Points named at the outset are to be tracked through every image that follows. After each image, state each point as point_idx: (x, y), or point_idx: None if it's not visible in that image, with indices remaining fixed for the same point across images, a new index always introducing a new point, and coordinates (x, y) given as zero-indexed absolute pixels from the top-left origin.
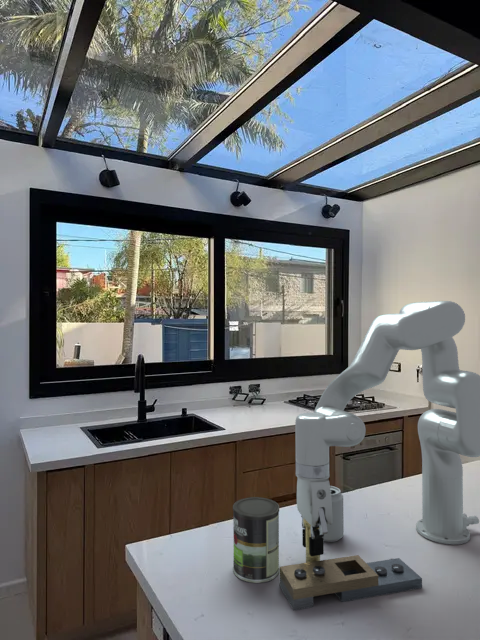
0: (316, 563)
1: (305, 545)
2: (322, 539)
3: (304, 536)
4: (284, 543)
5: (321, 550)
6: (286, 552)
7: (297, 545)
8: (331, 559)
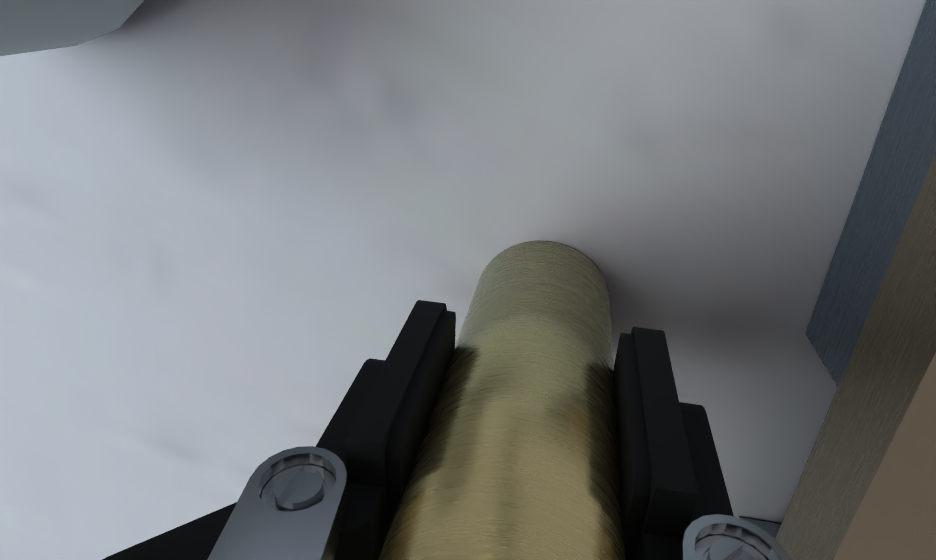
0: (886, 552)
1: None
2: (684, 468)
3: None
4: (177, 349)
5: (703, 410)
6: (313, 395)
7: (215, 272)
8: (931, 385)
